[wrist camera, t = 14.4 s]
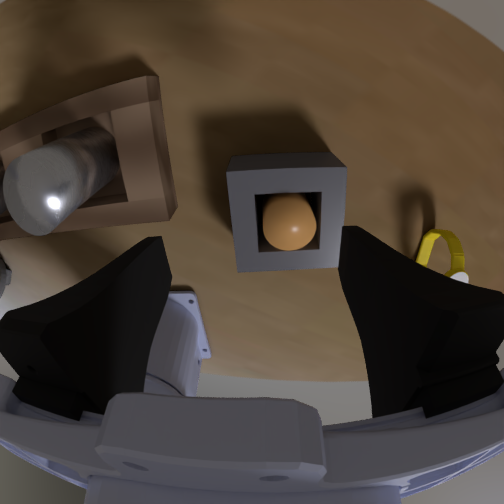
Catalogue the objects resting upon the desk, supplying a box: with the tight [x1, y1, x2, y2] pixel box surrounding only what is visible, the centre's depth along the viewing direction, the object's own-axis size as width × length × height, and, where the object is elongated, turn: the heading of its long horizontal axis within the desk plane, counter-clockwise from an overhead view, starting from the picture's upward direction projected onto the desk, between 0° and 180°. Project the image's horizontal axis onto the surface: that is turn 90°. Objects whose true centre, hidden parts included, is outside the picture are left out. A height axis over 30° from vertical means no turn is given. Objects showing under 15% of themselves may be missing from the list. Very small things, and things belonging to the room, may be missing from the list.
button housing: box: [226, 152, 347, 272], centre depth 20 cm, size 7×7×4 cm
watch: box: [415, 229, 469, 283], centre depth 21 cm, size 6×3×6 cm, turn 176°
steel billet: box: [3, 127, 120, 236], centre depth 16 cm, size 5×5×8 cm
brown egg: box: [262, 192, 316, 251], centre depth 19 cm, size 3×3×4 cm
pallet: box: [0, 76, 178, 240], centre depth 19 cm, size 10×24×2 cm, turn 94°
